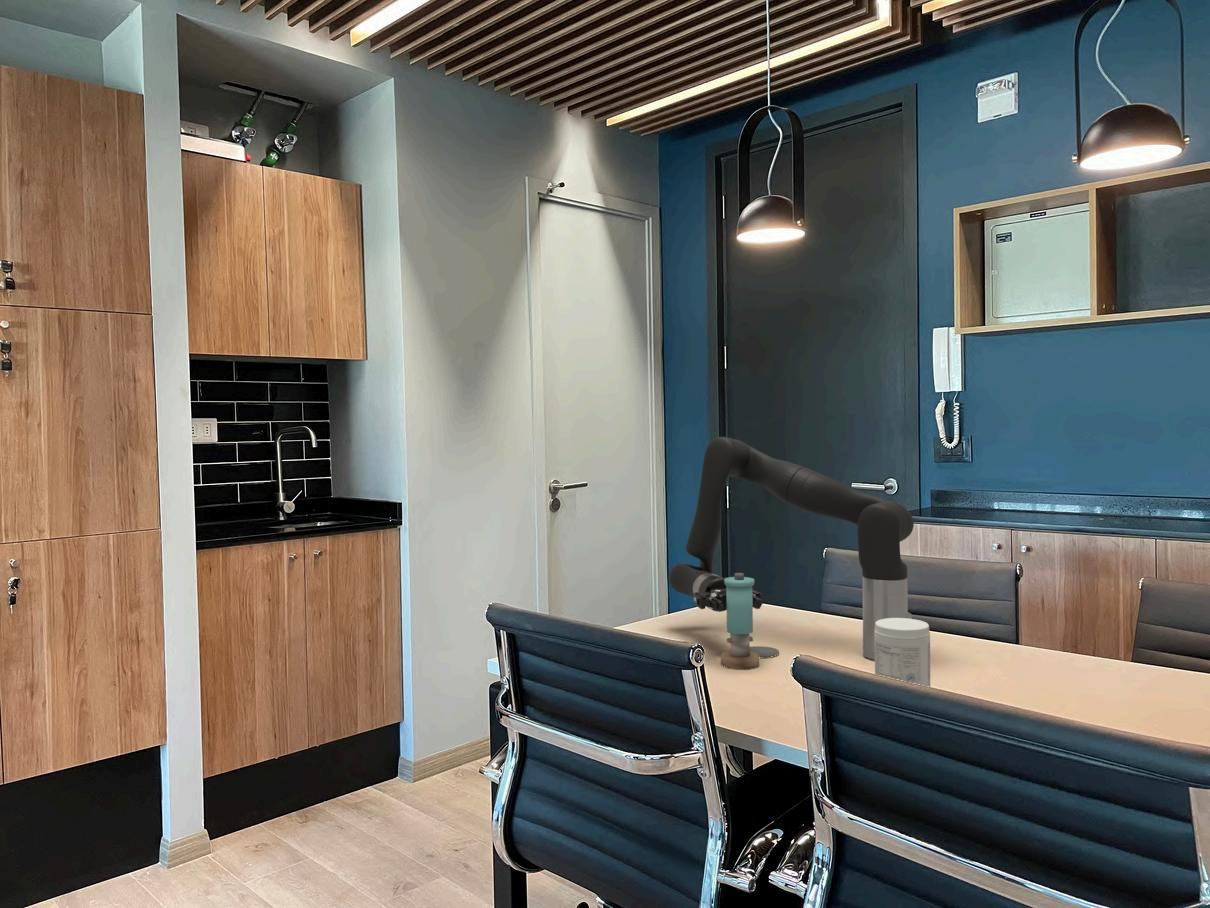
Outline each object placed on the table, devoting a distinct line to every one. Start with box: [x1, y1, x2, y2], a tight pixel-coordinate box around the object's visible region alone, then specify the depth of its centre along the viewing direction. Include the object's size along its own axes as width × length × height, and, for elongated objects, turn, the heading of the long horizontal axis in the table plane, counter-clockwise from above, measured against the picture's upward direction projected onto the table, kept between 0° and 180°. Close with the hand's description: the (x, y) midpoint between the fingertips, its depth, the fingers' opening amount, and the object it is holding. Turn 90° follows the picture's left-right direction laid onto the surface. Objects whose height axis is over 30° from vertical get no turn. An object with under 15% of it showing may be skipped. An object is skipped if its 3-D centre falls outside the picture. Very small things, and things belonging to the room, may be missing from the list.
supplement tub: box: [874, 618, 931, 688], centre depth 162 cm, size 10×10×15 cm
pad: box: [750, 645, 780, 657], centre depth 199 cm, size 8×8×1 cm
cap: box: [724, 572, 755, 634], centre depth 190 cm, size 6×6×12 cm
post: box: [720, 633, 760, 670], centre depth 191 cm, size 8×8×7 cm
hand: (739, 605), depth 190 cm, fingers open, 8 cm apart
